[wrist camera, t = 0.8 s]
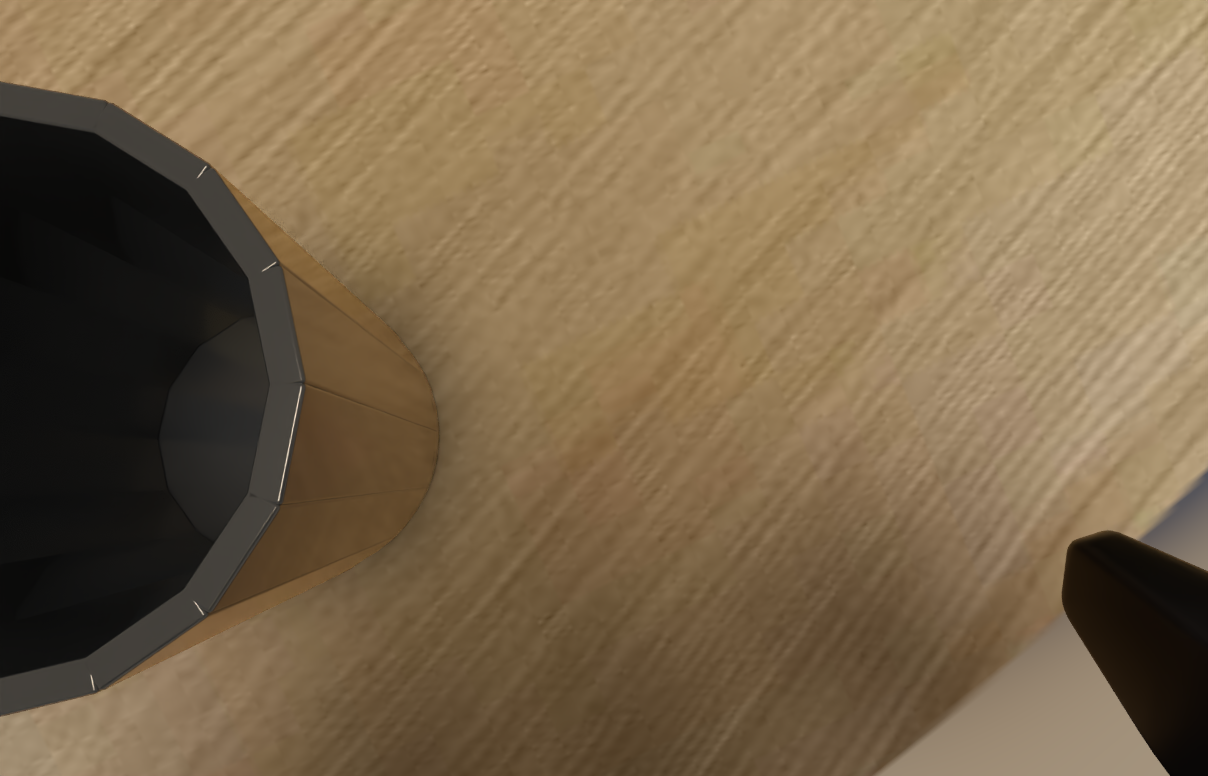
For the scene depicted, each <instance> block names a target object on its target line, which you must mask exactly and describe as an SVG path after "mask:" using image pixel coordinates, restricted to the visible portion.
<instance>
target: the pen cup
mask: <svg viewBox="0 0 1208 776" xmlns="http://www.w3.org/2000/svg"><path fill="white" fill-rule="evenodd" d="M438 446H439V422H438V415H437V409H436V404H435V401H434V397H433V394H432V390H431V387H430V385H429V383H428V381H427V378H426V376H425V374H424V372H423V370H422V369H421V367H420V365H419V364H418V362H417V360H416V359H415V357H414V356H413V355H412V353H411V352H410V351H409V350H408V349H407V347H406V346H405V345H404V344H403V343H402V341H401V340H400V338H399V337H398V336H397V334H396V333H395V332H394V331H393V330H392V329H391V328H390V327H389V326H388V325H387V324H386V323H384V322H383V321H382V320H381V319H380V318H379V317H378V316H377V315H376V314H375V313H373V312H372V311H371V310H370V309H369V308H368V307H367V306H366V305H365V304H364V303H362V302H361V301H360V300H359V299H358V298H357V297H356V296H355V295H354V294H353V293H351V292H350V291H349V290H348V289H347V288H346V287H345V286H344V285H343V284H342V283H340V282H339V281H338V280H337V279H336V278H335V277H334V276H333V275H332V274H331V273H329V272H328V271H327V270H326V269H325V268H324V267H323V266H322V265H321V264H320V263H318V262H317V261H316V260H315V259H314V258H313V257H312V256H311V255H310V254H308V253H307V252H306V251H305V250H304V249H303V248H302V247H301V246H300V245H299V244H297V243H296V242H295V241H294V240H293V239H292V238H291V237H290V236H289V235H288V234H286V233H285V232H284V231H283V230H282V229H281V228H280V227H279V226H278V225H277V224H275V223H274V222H273V221H272V220H271V219H270V218H269V217H268V216H267V215H266V214H264V213H263V212H262V211H261V210H260V209H259V208H258V207H257V206H256V205H255V204H253V203H252V202H251V201H250V200H249V199H248V198H247V197H246V196H245V195H244V194H242V193H241V192H240V191H239V190H238V189H237V188H236V187H235V186H234V185H233V184H231V183H230V182H229V181H228V180H227V179H226V178H225V177H224V176H223V175H222V174H220V173H219V172H218V171H217V170H216V169H215V168H214V167H213V166H212V165H211V164H209V163H208V162H206V161H205V160H203V159H201V158H200V157H198V156H197V155H195V154H193V153H192V152H190V151H189V150H187V149H186V148H184V147H182V146H181V145H179V144H178V143H176V142H174V141H173V140H171V139H170V138H168V137H166V136H165V135H163V134H162V133H160V132H158V131H157V130H155V129H154V128H152V127H150V126H149V125H147V124H146V123H144V122H142V121H141V120H139V119H138V118H136V117H134V116H133V115H131V114H130V113H128V112H126V111H125V110H123V109H122V108H120V107H118V106H117V105H115V104H114V103H109V102H107V101H106V100H101V99H96V98H90V97H85V96H79V95H74V94H68V93H62V92H57V91H51V90H46V89H40V88H35V87H29V86H24V85H18V84H13V83H7V82H1V81H0V717H1V716H6V715H10V714H14V713H18V712H22V711H26V710H30V709H34V708H39V707H43V706H47V705H51V704H55V703H59V702H63V701H67V700H72V699H76V698H80V697H84V696H88V695H92V694H96V693H98V692H100V691H102V690H105V689H107V688H109V687H111V686H113V685H115V684H117V683H119V682H121V681H123V680H125V679H127V678H129V677H131V676H134V675H136V674H138V673H140V672H142V671H144V670H146V669H148V668H150V667H152V666H154V665H156V664H158V663H160V662H162V661H164V660H166V659H168V658H170V657H172V656H174V655H176V654H178V653H180V652H182V651H185V650H187V649H189V648H191V647H193V646H195V645H197V644H199V643H201V642H203V641H205V640H207V639H209V638H211V637H213V636H215V635H217V634H219V633H221V632H223V631H225V630H227V629H229V628H231V627H233V626H236V625H238V624H240V623H242V622H244V621H246V620H248V619H250V618H252V617H254V616H256V615H258V614H260V613H262V612H264V611H266V610H268V609H270V608H272V607H274V606H276V605H278V604H280V603H282V602H284V601H287V600H289V599H291V598H293V597H295V596H297V595H299V594H301V593H303V592H305V591H307V590H309V589H311V588H313V587H315V586H317V585H319V584H321V583H323V582H325V581H327V580H329V579H331V578H333V577H335V576H338V575H340V574H342V573H344V572H346V571H348V570H350V569H351V568H353V567H354V566H356V565H357V564H358V563H360V562H361V561H363V560H364V559H366V558H367V557H369V556H371V555H372V554H374V553H376V552H377V551H379V550H380V549H381V548H382V547H384V546H385V545H386V544H387V543H389V542H390V541H391V540H392V539H394V538H395V537H396V535H398V533H399V532H400V531H401V530H402V529H403V528H404V527H405V526H406V525H407V523H408V522H409V521H410V519H411V518H412V516H413V515H414V514H415V512H416V511H417V509H418V508H419V506H420V504H421V502H422V500H423V499H424V497H425V495H426V493H427V490H428V488H429V485H430V482H431V480H432V477H433V473H434V469H435V465H436V461H437V455H438Z"/></svg>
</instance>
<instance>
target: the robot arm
mask: <svg viewBox="0 0 1208 776" xmlns="http://www.w3.org/2000/svg"><path fill="white" fill-rule="evenodd" d="M1062 602H1063V607H1064V610H1065V612H1066V615H1067V617H1068V619H1069V620H1070V622H1071V624H1072V625H1073V627H1074V629H1075V630H1076V632H1077V633H1078V635H1079V637H1080V638H1081V640H1082V641H1083V643H1084V645H1085V646H1086V648H1087V649H1088V651H1089V652H1090V654H1091V656H1092V657H1093V659H1094V661H1095V662H1096V664H1097V665H1098V667H1099V668H1100V670H1101V672H1102V673H1103V675H1104V676H1105V678H1106V680H1107V681H1108V683H1109V684H1110V686H1111V688H1112V689H1113V691H1114V692H1115V694H1116V696H1117V697H1118V699H1119V700H1120V702H1121V704H1122V705H1123V706H1124V708H1125V710H1126V711H1127V713H1128V715H1129V716H1130V718H1131V719H1132V721H1133V723H1134V724H1135V726H1136V727H1137V729H1138V731H1139V732H1140V734H1141V735H1142V737H1143V738H1144V740H1145V741H1146V743H1147V744H1148V746H1149V747H1150V749H1151V750H1152V752H1153V753H1154V755H1155V756H1156V757H1157V759H1158V760H1159V761H1160V763H1161V764H1162V765H1163V767H1164V768H1165V769H1166V771H1167V772H1168V773H1169V775H1170V776H1208V571H1206V570H1204V569H1201V568H1199V567H1197V566H1195V565H1192V564H1190V563H1188V562H1185V561H1183V560H1181V559H1178V558H1176V557H1174V556H1172V555H1169V554H1167V553H1165V552H1163V551H1160V550H1158V549H1156V548H1153V547H1151V546H1149V545H1147V544H1144V543H1142V542H1140V541H1138V540H1135V539H1133V538H1131V537H1128V536H1126V535H1124V534H1121V533H1119V532H1115V531H1108V530H1106V531H1101V532H1097V533H1094V534H1091V535H1088V536H1085V537H1082V538H1079V539H1076V540H1074V541H1072V543H1071V544H1070V545H1069V547H1068V550H1067V555H1066V563H1065V571H1064V579H1063V587H1062Z"/></svg>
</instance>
